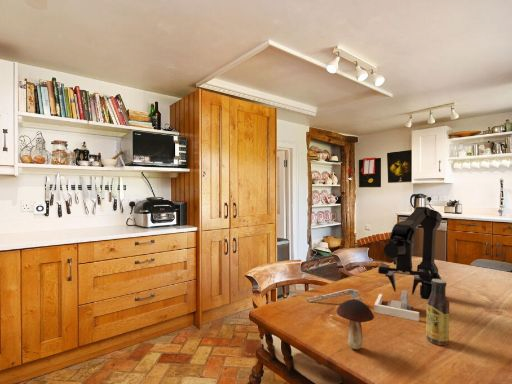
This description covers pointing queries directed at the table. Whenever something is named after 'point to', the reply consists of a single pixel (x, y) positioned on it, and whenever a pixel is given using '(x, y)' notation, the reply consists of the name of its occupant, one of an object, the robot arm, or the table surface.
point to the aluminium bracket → (403, 303)
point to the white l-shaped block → (394, 311)
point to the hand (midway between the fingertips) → (403, 292)
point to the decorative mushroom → (355, 320)
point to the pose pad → (407, 307)
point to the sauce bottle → (438, 314)
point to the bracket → (353, 296)
